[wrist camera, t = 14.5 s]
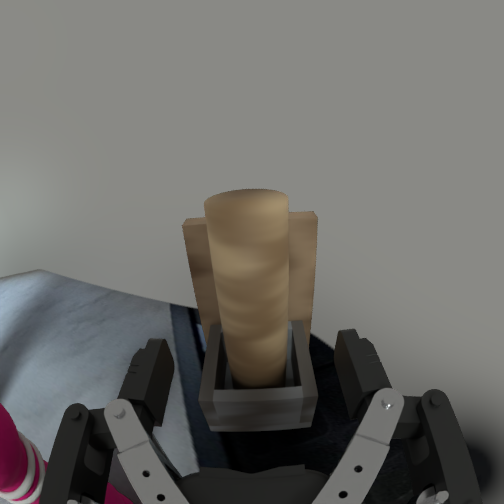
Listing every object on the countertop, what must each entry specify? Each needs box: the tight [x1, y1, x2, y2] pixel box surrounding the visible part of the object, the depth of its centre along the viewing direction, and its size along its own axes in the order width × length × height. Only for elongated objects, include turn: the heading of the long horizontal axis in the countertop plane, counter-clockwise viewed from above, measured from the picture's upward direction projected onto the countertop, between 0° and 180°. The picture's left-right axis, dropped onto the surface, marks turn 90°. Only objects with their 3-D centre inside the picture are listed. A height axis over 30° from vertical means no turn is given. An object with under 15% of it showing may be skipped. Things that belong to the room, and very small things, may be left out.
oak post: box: [204, 189, 289, 390], centre depth 18 cm, size 4×4×16 cm
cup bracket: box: [182, 211, 318, 431], centre depth 21 cm, size 10×10×18 cm
